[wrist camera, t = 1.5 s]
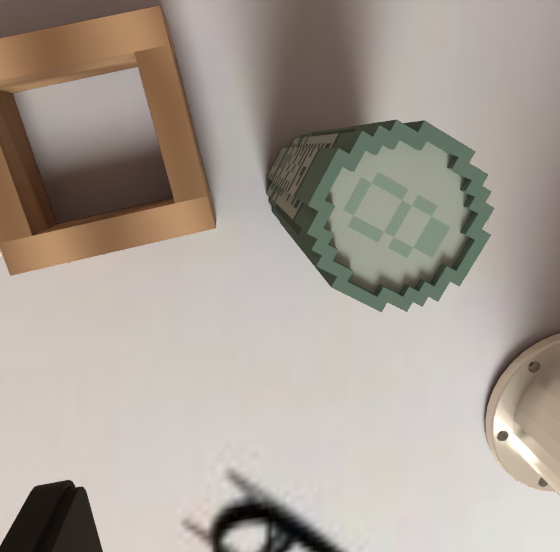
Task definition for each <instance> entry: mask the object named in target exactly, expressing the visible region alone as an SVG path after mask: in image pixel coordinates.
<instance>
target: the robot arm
mask: <svg viewBox="0 0 560 552" xmlns="http://www.w3.org/2000/svg"><path fill="white" fill-rule="evenodd" d="M485 423H486V436H487V440H488V443H489V447H490V449H491V451H492V453H493V455H494V457H495V458H496V460H497V461H498V462H499V463H500V465H501V466H502V467H503V468H504V469H505V471H506V472H507V473H508V474H510V475H511V476H512V477H513V478H514V479H515V480H517V481H518V482H520V483H522V484H524V485H526V486H528V487H530V488H534V489H537V490H541V491H552V492H557V493H558V494H559V495H560V333H559V334H555V335H552V336H550V337H548V338H546V339H543V340H541V341H539V342H537V343H536V344H534V345H533V346H531V347H530V348H528V349H527V350H525V351H524V352H523V353H521V354H520V355H519V356H518V357H517V358H516V359H515V360H514V361H513V362H512V363H511V364H510V365H509V366H508V368H507V369H506V370H505V371H504V373H503V374H502V375H501V377H500V378H499V380H498V382H497V384H496V386H495V387H494V389H493V391H492V394H491V397H490V400H489V403H488V406H487V413H486V420H485ZM0 552H103V551H102V547H101V544H100V540H99V536H98V533H97V529H96V525H95V522H94V518H93V514H92V511H91V507H90V503H89V500H88V496H87V493H86V490H85V489H84V487H75V485H74V483H73V482H72V481H70V480H66V481H60V482H55V483H49V484H44V485H38V486H36V487H34V488H33V489H32V491H31V492H30V494H29V496H28V498H27V499H26V501H25V503H24V505H23V507H22V508H21V510H20V512H19V514H18V515H17V517H16V519H15V521H14V522H13V524H12V526H11V528H10V530H9V531H8V533H7V535H6V537H5V538H4V540H3V542H2V544H1V546H0Z"/></svg>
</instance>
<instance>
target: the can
mask: <svg viewBox="0 0 560 552" xmlns="http://www.w3.org/2000/svg"><path fill="white" fill-rule="evenodd" d="M474 153H475V151H474V150H472V149H470V148H469V147H467V146H465V145H464V144H462V143H460V142H459V141H457V140H456V139H454V138H452V137H451V136H449V135H447V134H446V133H444V132H442V131H441V130H439V129H438V128H436V127H434V126H433V125H431V124H429V123H428V122H426V121H418V122H410V123H402V122H400V121H398V120H391V121H385V122H378V123H372V124H366V125H359V126H353V127H346V128H340V129H333V130H327V131H320V132H314V133H312V134H311V135H304V136H303V137H302V138H294V140H293V142H292V144H291V146H290V147H289V148H281V150H280V152H279V154H278V156H277V158H276V160H275V162H274V164H273V166H272V168H271V170H270V172H269V174H268V176H267V179H269V180H270V181H272V182H271V184H270V186H269V188H268V190H267V192H266V193H267V194H268V195H269V196H270V197H271V199H270V201H269V203H270V204H271V205H272V206H273V209H272V212H273V213H274V214H275V216H276V217H277V218H278V219H279V221H280V223H281V225H282V226H283V227H284V228H285V230H286V231H287V232H288V233H289V235H290V236H291V237H292V238H293V240H294V241H295V242H296V243H297V245H298V246H299V247H300V248H301V250H302V251H303V252H304V253H305V255H306V256H307V257H308V259H309V260H310V261H311V262H312V264H313V265H314V266H315V267H316V269H317V270H318V271H319V272H320V274H321V275H322V276H323V277H324V279H325V280H326V281H327V282H328V284H329V285H330V286H331V287H332V288H334V289H336V290H338V291H340V292H342V293H344V294H346V295H348V296H350V297H352V298H354V299H356V300H358V301H360V302H362V303H364V304H366V305H368V306H370V307H372V308H374V309H376V310H378V311H380V312H382V311H383V309H384V307H385V305H386V304H387V302H388V303H390V304H392V305H394V306H396V307H398V308H400V309H402V310H404V311H406V312H407V311H408V309H409V307H410V306H411V304H412V302H414V303H416V304H418V305H420V306H422V307H423V305H424V303H425V302H426V300H427V298H428V297H430V298H432V299H434V300H436V301H439V299H440V297H441V296H442V294H443V292H444V291H445V289H446V287H447V286H448V284H449V282H452V283H454V284H456V285H458V286H460V285H461V283H462V282H463V280H464V278H465V277H466V275H467V273H468V272H469V270H470V268H471V267H472V265H473V264H474V262H475V260H476V259H477V257H478V255H479V254H480V252H481V250H482V249H483V247H484V245H485V244H486V242H487V241H488V239H489V237H490V236H491V234H489V233H487V232H485V231H484V230H482V228H483V226H484V225H485V223H486V221H487V220H488V218H489V216H490V215H491V213H492V211H493V210H494V207H492V206H490V205H488V204H487V203H485V202H486V200H487V198H488V197H489V195H490V193H491V191H490V190H488V189H486V188H485V187H483V186H482V185H483V183H484V181H485V180H486V178H487V176H488V174H486V173H485V172H483V171H481V170H480V169H478V168H476V167H475V166H473V165H471V164H470V163H469V162H470V160H471V158H472V157H473V155H474Z"/></svg>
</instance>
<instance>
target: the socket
mask: <svg viewBox="0 0 560 552" xmlns="http://www.w3.org/2000/svg"><path fill="white" fill-rule="evenodd" d="M134 67H138V68H139V72H140V76H141V79H142V83H143V87H144V90H145V94H146V98H147V102H148V105H149V109H150V113H151V116H152V120H153V124H154V127H155V131H156V135H157V139H158V142H159V146H160V150H161V153H162V157H163V161H164V164H165V168H166V172H167V176H168V179H169V183H170V187H171V190H172V194H173V198H171V199H167V200H162V201H158V202H153V203H149V204H145V205H140V206H136V207H131V208H127V209H123V210H118V211H114V212H109V213H105V214H100V215H96V216H92V217H87V218H83V219H78V220H74V221H70V222H65V223H61V224H56V221H55V218H54V215H53V212H52V209H51V206H50V203H49V200H48V197H47V194H46V191H45V188H44V186H43V183H42V180H41V177H40V174H39V171H38V168H37V165H36V162H35V159H34V156H33V153H32V150H31V147H30V144H29V141H28V138H27V135H26V132H25V129H24V126H23V124H22V121H21V118H20V115H19V112H18V109H17V106H16V103H15V100H14V97H13V94H12V93H16V92H20V91H25V90H30V89H35V88H39V87H44V86H49V85H54V84H58V83H63V82H68V81H72V80H77V79H82V78H87V77H91V76H96V75H101V74H106V73H110V72H115V71H120V70H125V69H129V68H134ZM214 228H216V215H215V211H214V207H213V203H212V199H211V195H210V191H209V187H208V183H207V179H206V175H205V171H204V167H203V163H202V159H201V155H200V151H199V147H198V143H197V139H196V135H195V131H194V127H193V123H192V119H191V115H190V111H189V107H188V103H187V99H186V95H185V91H184V87H183V83H182V79H181V75H180V71H179V67H178V63H177V59H176V55H175V51H174V47H173V43H172V39H171V35H170V31H169V27H168V24H167V21H166V19H165V17H164V14H163V12H162V10H161V7H160V6H155V7H150V8H146V9H141V10H136V11H131V12H126V13H121V14H116V15H111V16H107V17H102V18H97V19H92V20H87V21H82V22H77V23H72V24H67V25H63V26H58V27H53V28H48V29H43V30H38V31H33V32H28V33H24V34H19V35H14V36H9V37H4V38H0V249H1V252H2V255H3V257H4V260H5V263H6V265H7V268H8V271H9V273H10V276H11V275H15V274H20V273H24V272H28V271H33V270H37V269H41V268H46V267H50V266H54V265H59V264H63V263H67V262H72V261H76V260H80V259H84V258H89V257H93V256H97V255H102V254H106V253H110V252H115V251H119V250H123V249H128V248H132V247H136V246H141V245H145V244H149V243H154V242H158V241H162V240H167V239H171V238H175V237H180V236H184V235H188V234H192V233H197V232H201V231H205V230H210V229H214Z"/></svg>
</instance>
